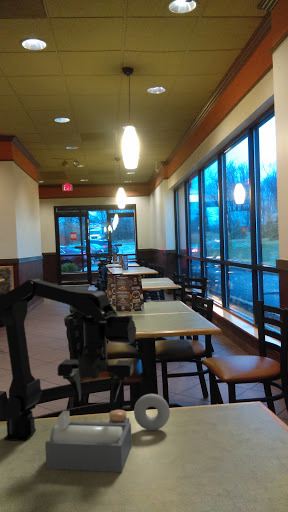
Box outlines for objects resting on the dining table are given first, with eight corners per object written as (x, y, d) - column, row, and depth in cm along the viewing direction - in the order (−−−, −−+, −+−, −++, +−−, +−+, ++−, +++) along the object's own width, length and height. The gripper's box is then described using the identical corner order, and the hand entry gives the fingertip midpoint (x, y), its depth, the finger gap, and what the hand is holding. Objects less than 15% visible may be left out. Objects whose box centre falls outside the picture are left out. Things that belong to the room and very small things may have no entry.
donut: (170, 427, 116) (169, 391, 116) (170, 432, 112) (169, 396, 112) (135, 427, 117) (133, 392, 116) (133, 432, 113) (132, 396, 113)
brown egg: (108, 437, 107) (107, 416, 107) (112, 429, 111) (111, 409, 111) (125, 437, 106) (124, 416, 106) (128, 430, 111) (127, 409, 110)
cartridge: (50, 456, 99) (48, 419, 99) (59, 444, 105) (58, 408, 105) (118, 459, 96) (116, 420, 96) (123, 446, 103) (122, 410, 102)
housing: (46, 468, 96) (45, 442, 96) (70, 434, 113) (70, 412, 113) (122, 472, 93) (121, 445, 93) (135, 436, 111) (134, 414, 111)
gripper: (48, 348, 99) (50, 412, 99) (125, 349, 96) (127, 415, 97) (64, 337, 110) (65, 395, 110) (133, 338, 107) (134, 397, 108)
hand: (96, 401), depth 106 cm, fingers open, 9 cm apart
